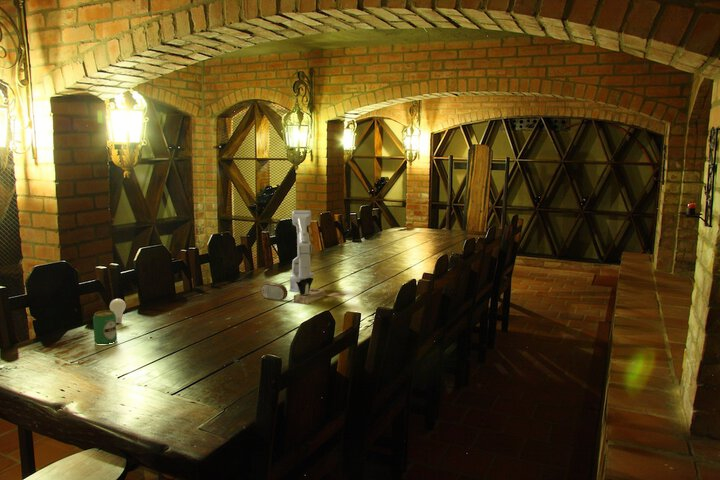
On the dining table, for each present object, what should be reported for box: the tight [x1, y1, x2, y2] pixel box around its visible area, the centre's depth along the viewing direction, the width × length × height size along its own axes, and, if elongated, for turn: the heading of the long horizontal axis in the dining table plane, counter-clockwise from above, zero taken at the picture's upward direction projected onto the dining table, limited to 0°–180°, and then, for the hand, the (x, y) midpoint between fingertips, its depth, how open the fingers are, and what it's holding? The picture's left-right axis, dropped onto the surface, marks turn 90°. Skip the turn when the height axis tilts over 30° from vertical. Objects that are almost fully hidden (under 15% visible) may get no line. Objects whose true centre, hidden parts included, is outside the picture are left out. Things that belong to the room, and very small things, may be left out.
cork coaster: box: [326, 292, 348, 299], centre depth 289 cm, size 8×8×1 cm
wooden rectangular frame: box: [293, 287, 326, 305], centre depth 281 cm, size 8×18×4 cm, turn 154°
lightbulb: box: [109, 298, 127, 324], centre depth 237 cm, size 6×6×11 cm
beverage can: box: [92, 309, 118, 344], centre depth 214 cm, size 8×8×12 cm
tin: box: [260, 281, 288, 301], centre depth 280 cm, size 15×3×8 cm, turn 65°
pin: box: [302, 283, 309, 296], centre depth 276 cm, size 3×3×10 cm
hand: (304, 293), depth 277 cm, fingers open, 4 cm apart
